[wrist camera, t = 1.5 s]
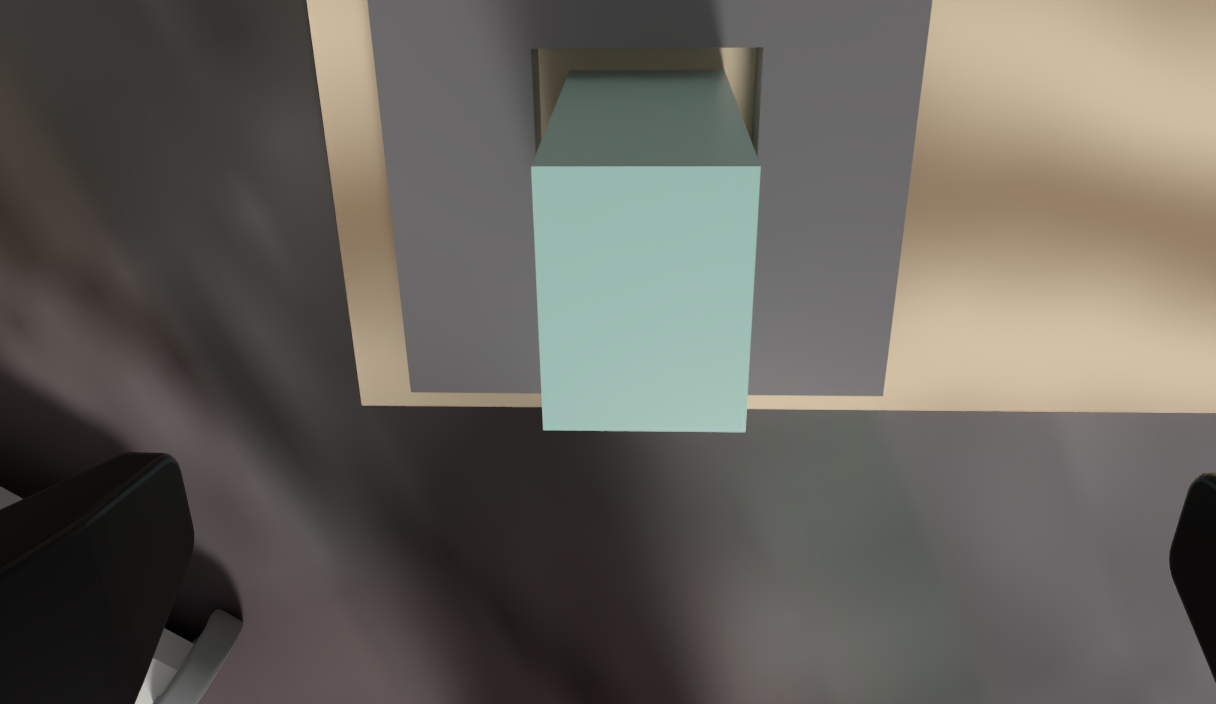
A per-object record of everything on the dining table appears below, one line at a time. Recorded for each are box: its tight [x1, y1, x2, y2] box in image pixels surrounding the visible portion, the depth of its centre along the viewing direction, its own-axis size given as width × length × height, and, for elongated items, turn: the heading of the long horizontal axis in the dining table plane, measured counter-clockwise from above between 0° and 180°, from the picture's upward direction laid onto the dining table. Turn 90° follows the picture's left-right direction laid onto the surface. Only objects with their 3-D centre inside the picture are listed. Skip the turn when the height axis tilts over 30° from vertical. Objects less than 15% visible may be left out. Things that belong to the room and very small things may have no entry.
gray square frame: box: [367, 0, 932, 396], centre depth 20 cm, size 9×10×1 cm
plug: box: [531, 70, 761, 432], centre depth 17 cm, size 4×3×7 cm
